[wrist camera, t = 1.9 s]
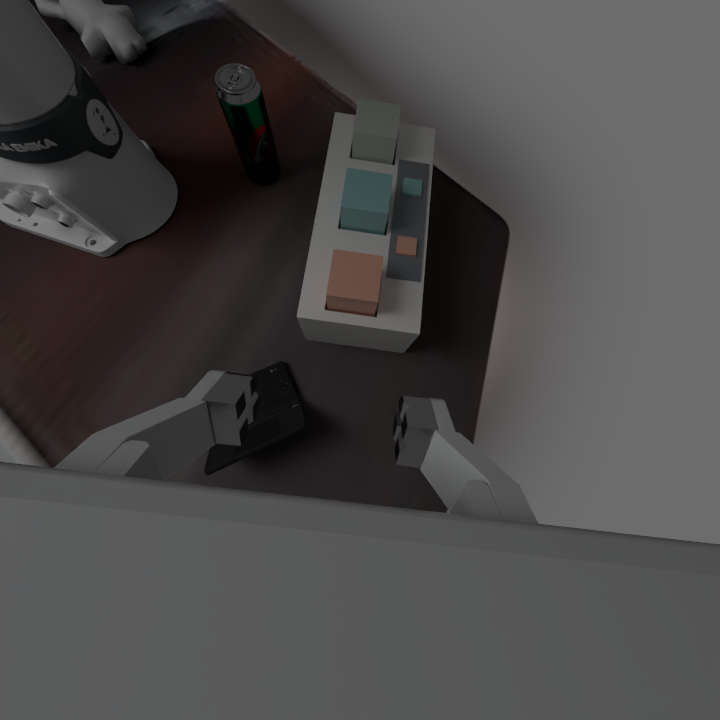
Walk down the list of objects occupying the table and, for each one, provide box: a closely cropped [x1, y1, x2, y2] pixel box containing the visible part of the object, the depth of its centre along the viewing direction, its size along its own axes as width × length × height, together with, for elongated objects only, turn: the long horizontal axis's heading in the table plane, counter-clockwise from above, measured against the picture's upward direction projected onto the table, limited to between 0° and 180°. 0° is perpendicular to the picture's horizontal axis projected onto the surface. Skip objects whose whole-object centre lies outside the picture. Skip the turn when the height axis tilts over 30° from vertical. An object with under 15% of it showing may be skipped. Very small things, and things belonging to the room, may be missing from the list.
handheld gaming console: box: [204, 361, 307, 475], centre depth 32 cm, size 12×7×10 cm
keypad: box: [297, 112, 435, 353], centre depth 36 cm, size 13×28×8 cm, turn 173°
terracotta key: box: [326, 249, 383, 317], centre depth 29 cm, size 5×5×4 cm
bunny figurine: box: [35, 0, 147, 64], centre depth 44 cm, size 10×5×15 cm
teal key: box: [341, 168, 393, 235], centre depth 32 cm, size 5×5×4 cm
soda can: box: [215, 63, 281, 185], centre depth 36 cm, size 5×5×12 cm
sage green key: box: [352, 98, 401, 165], centre depth 34 cm, size 5×5×4 cm
